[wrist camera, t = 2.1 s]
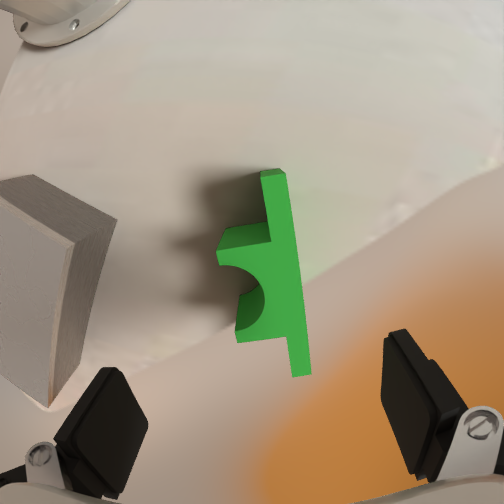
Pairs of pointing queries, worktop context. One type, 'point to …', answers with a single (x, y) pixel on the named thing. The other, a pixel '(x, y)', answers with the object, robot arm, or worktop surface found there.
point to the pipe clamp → (270, 275)
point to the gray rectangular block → (46, 282)
